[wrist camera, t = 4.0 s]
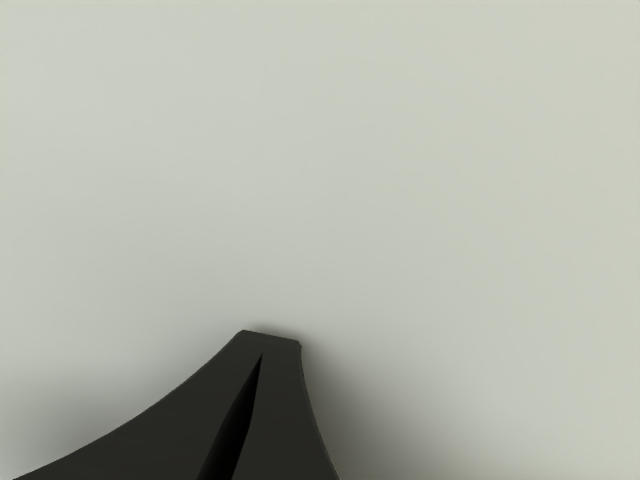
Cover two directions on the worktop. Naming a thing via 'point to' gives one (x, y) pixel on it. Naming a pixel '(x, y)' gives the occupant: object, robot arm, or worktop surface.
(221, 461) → the robot arm
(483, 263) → the worktop surface
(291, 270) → the worktop surface
